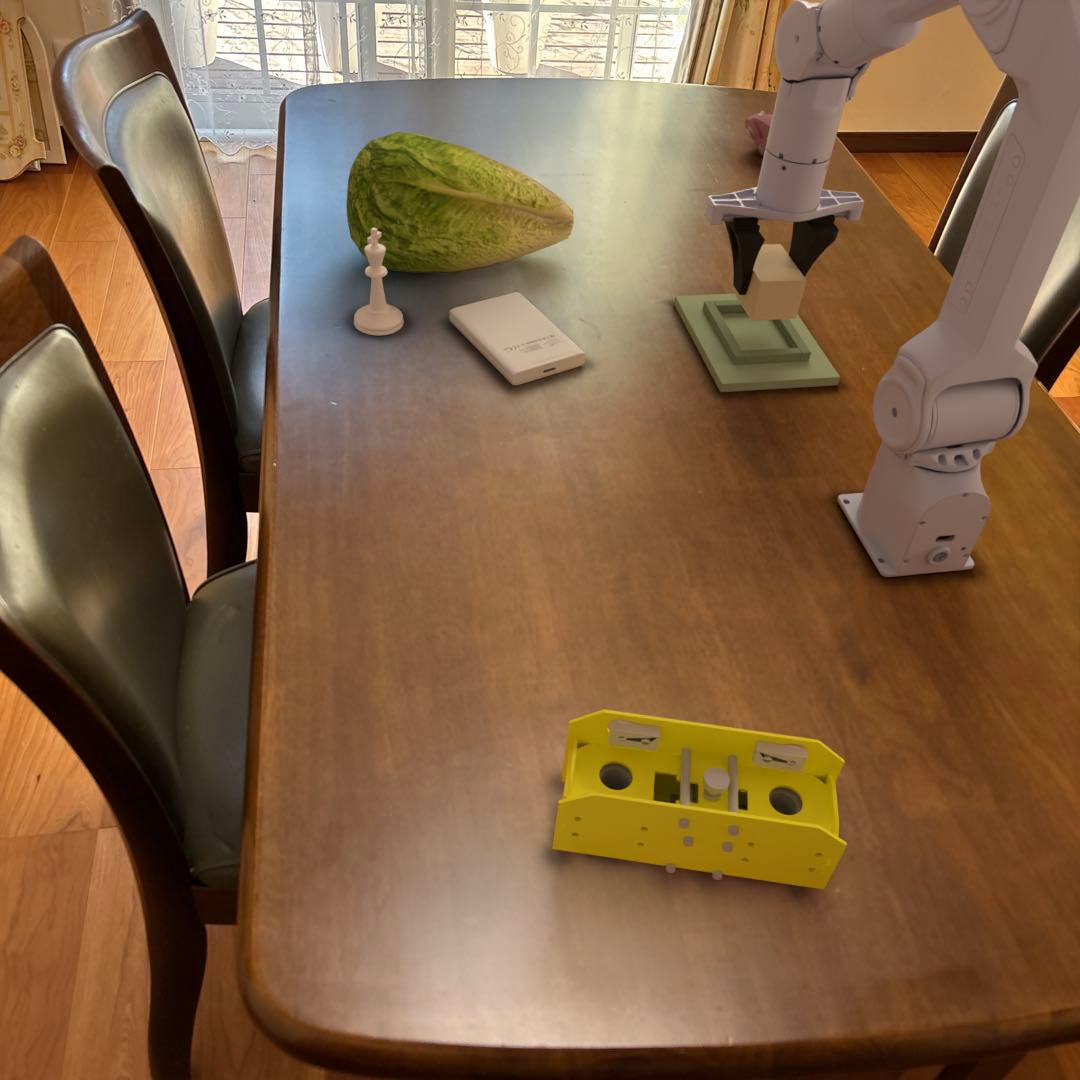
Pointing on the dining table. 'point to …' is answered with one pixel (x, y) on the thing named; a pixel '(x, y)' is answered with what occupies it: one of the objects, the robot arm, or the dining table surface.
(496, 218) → the lettuce
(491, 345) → the hard drive
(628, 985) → the dining table surface
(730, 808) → the yellow toy chassis
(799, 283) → the tan rectangular block
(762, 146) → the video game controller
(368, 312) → the chess piece
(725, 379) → the base mat
